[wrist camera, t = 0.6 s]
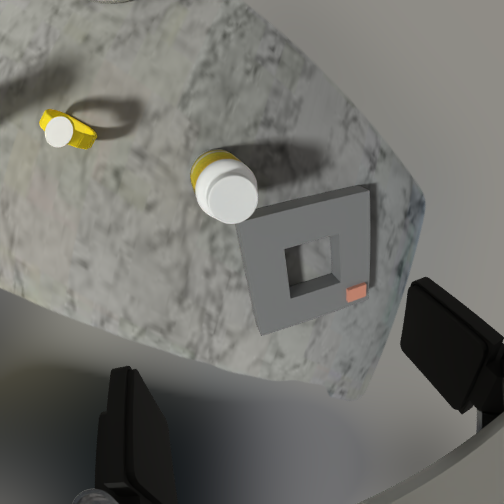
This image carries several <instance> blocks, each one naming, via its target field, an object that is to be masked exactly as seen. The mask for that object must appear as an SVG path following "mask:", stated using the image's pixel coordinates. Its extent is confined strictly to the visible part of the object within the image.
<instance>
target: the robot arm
mask: <svg viewBox="0 0 504 504" xmlns="http://www.w3.org/2000/svg"><path fill="white" fill-rule="evenodd" d="M89 1H93V2H97V3H109V4H111V3H122V2H126V1H130V0H89ZM503 339H504V337H503V336H502V335H500V334H499V333H498V332H497V331H495V329H493V328H492V327H491V326H490V325H488V324H487V323H486V322H485V321H484V320H482V319H481V318H480V317H479V316H477V315H476V314H475V313H474V312H472V311H471V310H470V309H469V308H467V307H466V306H465V305H463V304H462V303H461V302H460V301H458V300H457V299H456V298H455V297H453V296H452V295H450V294H449V293H448V292H447V291H445V290H444V289H443V288H442V287H440V286H439V285H438V284H436V283H435V282H434V281H432V280H431V279H430V278H428V277H424V278H421V279H419V280H416V281H414V282H412V283H411V286H410V287H409V289H408V294H407V303H406V310H405V317H404V323H403V330H402V337H401V342H400V345H401V349H402V351H403V352H404V353H405V354H406V356H407V357H408V358H409V359H410V360H411V361H412V362H413V363H414V364H415V366H416V367H417V368H418V369H419V370H420V371H421V372H422V373H423V374H424V376H425V377H426V378H427V379H428V380H429V381H430V382H431V384H432V385H433V386H434V387H435V388H436V389H437V390H438V392H439V393H440V394H441V395H442V396H443V397H444V398H445V400H446V401H447V402H448V403H449V404H450V405H451V407H452V408H454V409H456V410H459V412H460V413H461V414H463V413H465V412H466V411H468V410H469V409H470V408H472V407H473V405H474V406H475V407H476V408H477V430H476V432H477V433H476V434H475V435H474V436H472V437H471V438H470V439H468V440H467V441H466V442H464V443H463V444H461V445H460V446H459V447H457V448H456V449H454V450H453V451H451V452H450V453H448V454H447V455H445V456H444V457H442V458H441V459H439V460H437V461H436V462H434V463H433V464H431V465H430V466H428V467H426V468H425V469H423V470H421V471H420V472H418V473H416V474H414V475H413V476H411V477H409V478H408V479H406V480H404V481H402V482H400V483H398V484H396V485H395V486H393V487H391V488H389V489H387V490H385V491H383V492H381V493H379V494H377V495H375V496H373V497H371V498H368V499H367V500H364V501H362V502H360V503H357V504H504V344H503V343H502V342H503ZM72 504H178V501H177V495H176V487H175V480H174V474H173V465H172V457H171V449H170V440H169V429H168V424H167V421H166V419H165V417H164V415H163V414H162V412H161V411H160V409H159V407H158V405H157V404H156V402H155V400H154V399H153V397H152V395H151V393H150V392H149V390H148V388H147V386H146V385H145V383H144V381H143V379H142V377H141V376H140V374H139V372H138V371H137V370H136V369H134V370H132V369H131V367H130V366H125V367H120V368H115V369H112V370H111V375H110V384H109V392H108V403H107V411H105V412H102V413H101V414H100V417H99V425H98V437H97V450H96V468H95V489H89V490H85V491H83V492H81V493H80V494H79V495H78V496H77V497H76V498H75V500H74V501H73V503H72Z"/></svg>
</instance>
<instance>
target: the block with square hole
mask: <svg viewBox="0 0 504 504" xmlns="http://www.w3.org/2000/svg"><path fill="white" fill-rule="evenodd" d="M235 226H236V231H237V235H238V240H239V245H240V250H241V255H242V260H243V264H244V269H245V274H246V279H247V283H248V288H249V293H250V298H251V302H252V307H253V312H254V317H255V321H256V325H257V327H258V330H259V332H260V334H261V336H262V335H266V334H269V333H272V332H275V331H278V330H281V329H285V328H288V327H291V326H294V325H297V324H300V323H303V322H306V321H309V320H312V319H315V318H318V317H321V316H323V315H326V314H329V313H332V312H335V311H338V310H340V309H343V308H346V307H349V306H351V305H354V304H357V303H359V302H362V301H365V300H367V299H369V277H370V191H369V190H367V189H365V188H363V187H361V186H359V185H357V186H352V187H348V188H343V189H339V190H334V191H330V192H325V193H321V194H317V195H312V196H308V197H304V198H299V199H295V200H291V201H287V202H283V203H278V204H274V205H270V206H266V207H262V208H258V209H255V211H254V212H253V214H252V215H251V216H250V217H249V218H248V219H246V220H244V221H243V222H240V223H236V224H235ZM326 237H330V240H331V259H332V273H331V274H328V275H325V276H322V277H319V278H316V279H312V280H309V281H306V282H303V283H300V284H296V285H293V286H290V287H289V282H288V275H287V267H286V259H285V252H284V249H287V248H290V247H294V246H297V245H301V244H305V243H308V242H312V241H315V240H319V239H322V238H326Z"/></svg>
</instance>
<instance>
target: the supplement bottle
mask: <svg viewBox="0 0 504 504" xmlns="http://www.w3.org/2000/svg"><path fill="white" fill-rule="evenodd" d="M190 179H191V183H192V187H193V190H194V192H195V196H196V199H197V201H198V203H199V205H200V207H201V208H202V209H203V211H204V212H205V213H207V214H208V215H210V216H211V217H213V218H216V219H218V220H219V221H221V222H223V223H227V224H236V223H240V222H243V221H244V220H246V219H248V218H249V217H250V216H251V215H252V214H253V212H254V211H255V209H256V207H257V203H258V192H257V181H256V178H255V176H254V174H253V172H252V171H251V170H250V169H249V168H248V167H247V166H246V165H245V164H244V163H242V162H241V161H240V160H239V159H238V158H236V157H235V156H234V155H233V154H231V153H230V152H228V151H225V150H221V149H212V150H208V151H206V152H204V153H202V154H201V155H199V156H198V157H197V159H196V160H195V161H194V163H193V165H192V167H191V172H190Z"/></svg>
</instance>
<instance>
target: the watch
mask: <svg viewBox="0 0 504 504" xmlns="http://www.w3.org/2000/svg"><path fill="white" fill-rule="evenodd" d="M39 123H40V127H41V128H42V129H43V130H44V131H45V137H46V140H47V142H48V143H49V144H50V145H51V146H54V147H62V146H65V145H67V144H68V145H71V146H74V147H77V148H81V149H89V148H91V147H92V145H93V143H94V141H95V140H96V138H97V134H96V132H95V131H94V130H93V129H92V128H90V127H89V126H87V125H85V124H83V123H82V122H80V121H78V120H76V119H75V118H73V117H71V116H69V115H68V114H65V113H63V112H60V111H57V110H53V109H48V110H45V112H44V114H43V116H42V118H41V120H40V122H39Z"/></svg>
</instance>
